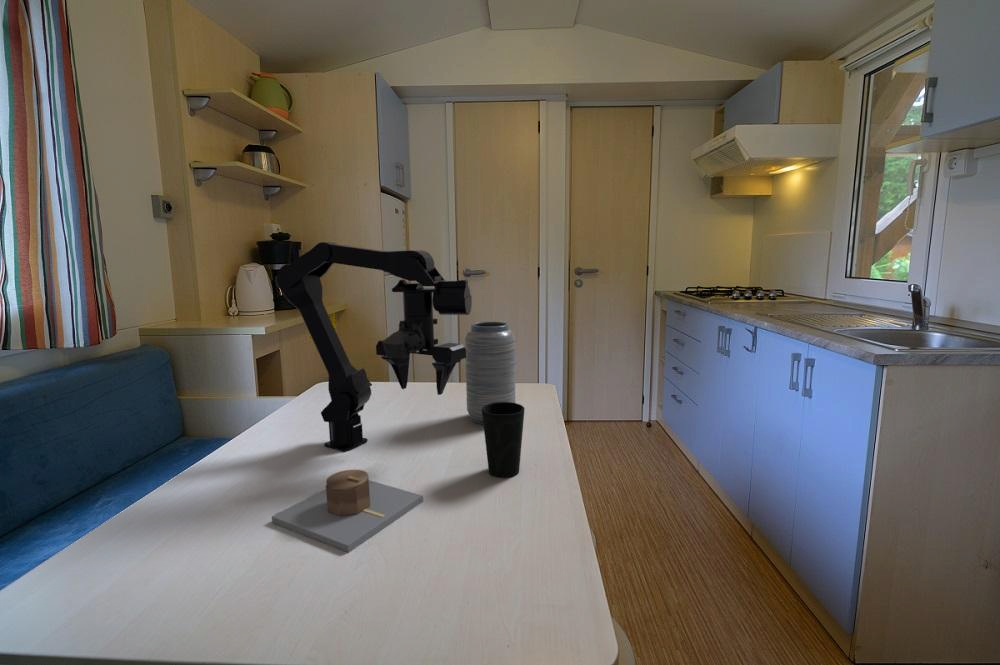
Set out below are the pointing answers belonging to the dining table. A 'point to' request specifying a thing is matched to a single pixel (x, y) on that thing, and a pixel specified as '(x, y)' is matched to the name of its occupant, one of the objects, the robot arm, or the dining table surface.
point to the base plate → (347, 516)
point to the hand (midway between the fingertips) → (421, 391)
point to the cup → (503, 437)
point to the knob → (347, 492)
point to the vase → (489, 366)
